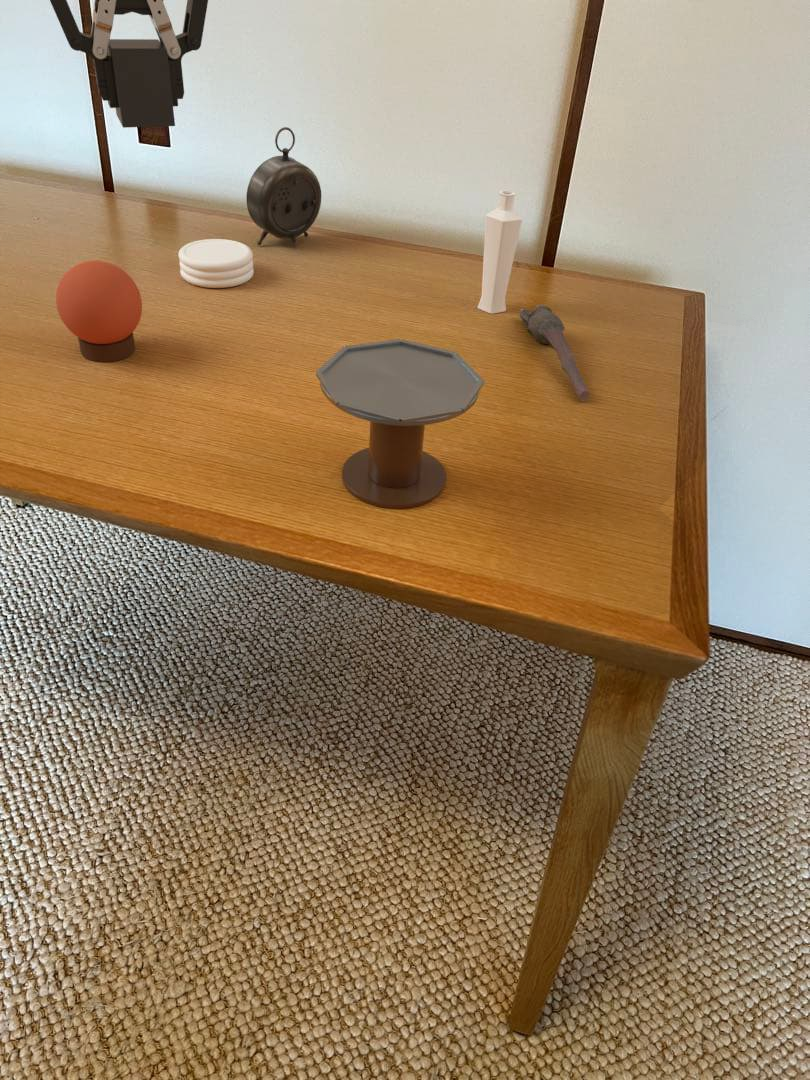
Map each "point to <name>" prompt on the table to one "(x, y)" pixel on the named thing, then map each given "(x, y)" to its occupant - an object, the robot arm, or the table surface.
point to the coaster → (216, 263)
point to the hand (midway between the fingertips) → (142, 104)
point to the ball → (100, 309)
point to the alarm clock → (283, 196)
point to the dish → (397, 414)
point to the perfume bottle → (499, 252)
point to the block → (142, 82)
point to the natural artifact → (555, 343)
